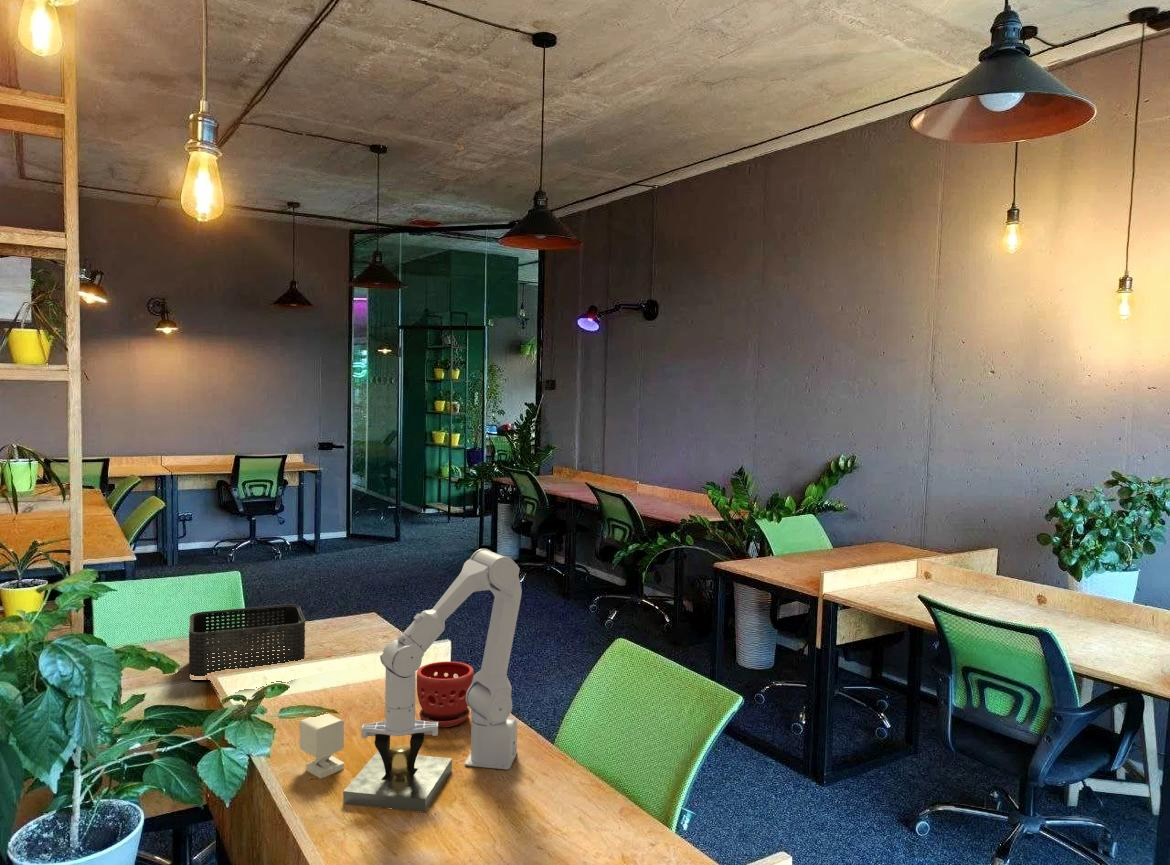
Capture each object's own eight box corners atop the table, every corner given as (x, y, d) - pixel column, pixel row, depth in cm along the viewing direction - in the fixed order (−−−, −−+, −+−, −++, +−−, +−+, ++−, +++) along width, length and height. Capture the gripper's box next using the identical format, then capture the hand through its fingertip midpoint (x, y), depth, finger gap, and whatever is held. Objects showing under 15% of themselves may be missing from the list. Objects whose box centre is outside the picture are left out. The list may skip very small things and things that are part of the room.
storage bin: (299, 647, 234) (298, 601, 233) (306, 669, 217) (306, 621, 216) (189, 660, 222) (189, 612, 221) (188, 685, 204) (188, 634, 203)
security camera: (326, 757, 169) (326, 710, 168) (346, 768, 164) (346, 720, 163) (299, 768, 164) (299, 720, 163) (318, 779, 159) (318, 730, 158)
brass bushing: (410, 774, 160) (410, 744, 159) (410, 784, 156) (410, 754, 155) (389, 775, 159) (390, 746, 159) (389, 785, 155) (389, 755, 155)
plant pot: (481, 724, 185) (481, 674, 185) (425, 735, 179) (426, 683, 178) (462, 703, 197) (462, 655, 196) (409, 713, 191) (409, 664, 190)
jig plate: (451, 770, 164) (451, 758, 164) (425, 812, 148) (425, 799, 148) (377, 763, 166) (377, 751, 166) (343, 803, 151) (343, 791, 150)
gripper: (439, 694, 161) (438, 759, 162) (365, 695, 159) (365, 761, 160) (437, 708, 154) (436, 777, 155) (359, 710, 152) (359, 779, 153)
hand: (399, 770), depth 157 cm, fingers closed on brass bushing, 4 cm apart
